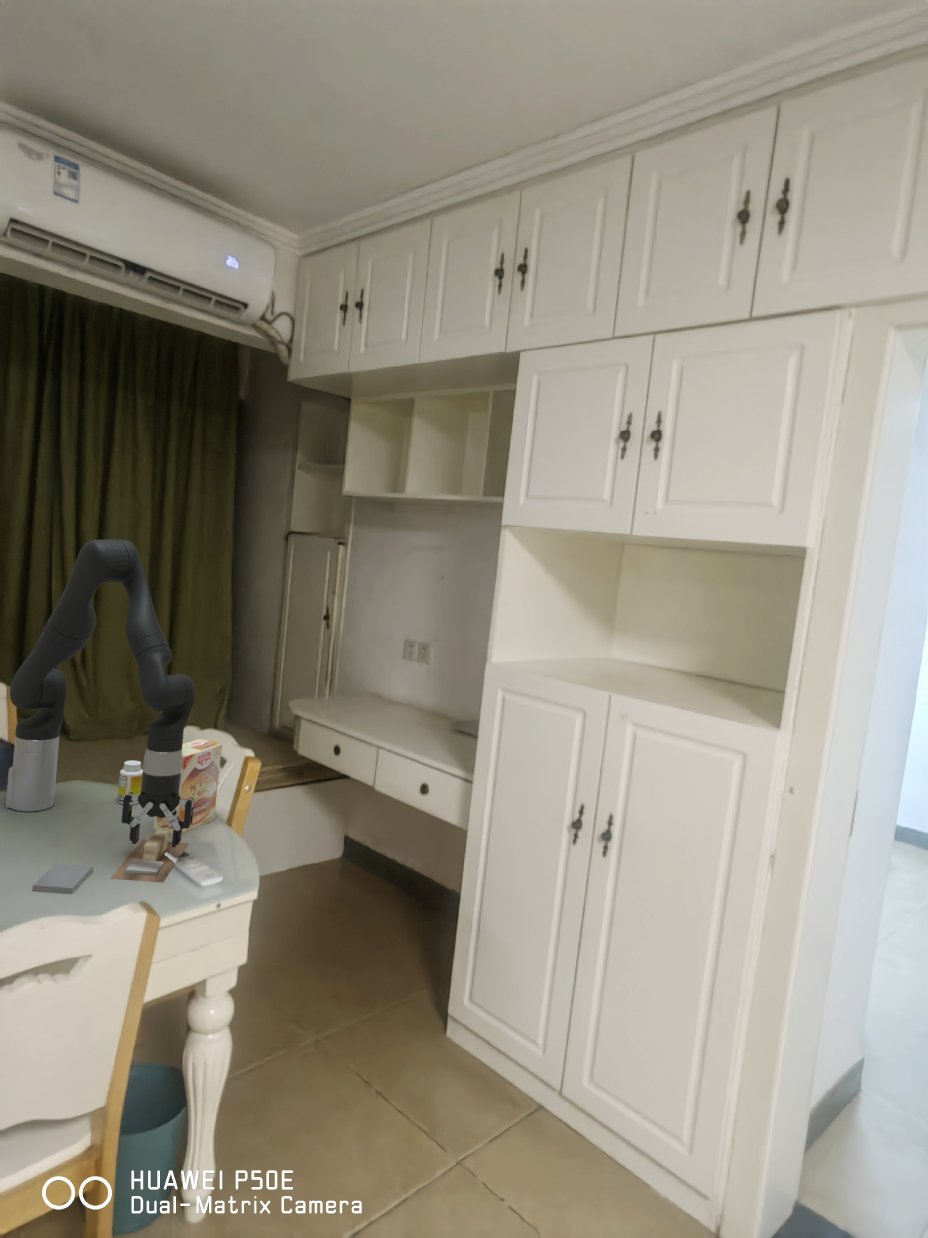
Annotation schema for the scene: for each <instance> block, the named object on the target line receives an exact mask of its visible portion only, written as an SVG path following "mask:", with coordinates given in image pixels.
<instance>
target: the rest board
mask: <svg viewBox="0 0 928 1238" xmlns="http://www.w3.org/2000/svg"><path fill="white" fill-rule="evenodd" d="M148 840H149V839H142V840H141V841H140V843H139V844H138V845H137V846H136V847H135V848H134V849H133V851H132V852H131V853H130V854H129V856H128V857H127V858H126V859H125V860H124V862H123V863H122V864H121V865H120V867H118V868H117V870H116V872H114V873H113V875H112V876H111V877H110V879H111V880H124V881H136V882H137V881H138V882H140V881H141V882H152V883H164V881H165V880H166V879H167V877H168V876H169V874H170V873H171V871H172V870H173V869H174V867H175V865H176V864H175V863H174V862H173V861H172V860H170V859H169V858H168V857H167V856H165V854H164V853H166V852H168V853H173V855H175V856H176V857H178V855H179V856H180V855H181V856H182V855H183V853H184V852H185V850H186V849H187V847H188V846H189V844H190V843H189V842H180V843H179V844H178V845H177V846H176V847H172V841H168V843H167V849H166V850H165V851H164V853H163V854H162V855H161V857H160V858H159V859H158V861H161V862H164V866H163V867H162V868H161V870H160V871H159V873H158V874H157V875H156V876H153V875H139V874H125V872H126V869H127V867H128V866H129V865H130V864H131V862H132V861H133V860H143V854H144V845H145V844H146V843H147V841H148ZM181 856H180V857H181Z"/></svg>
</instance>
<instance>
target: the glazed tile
mask: <svg viewBox="0 0 928 1238" xmlns="http://www.w3.org/2000/svg"><path fill="white" fill-rule="evenodd" d="M93 871H94V866H93V865H87V864H77V863H76V864H75V863H74V864H73V863H61V862H60V863H59V862H55V864H54V865H52V866H51V867H50V868H49V869H48V870H47V871H46V872H45V873H44V874H42V876H41V877H40V878H39V879H38V880H37V881H36V882H34V883H33V884H32V892H43V893H54V894H55V893H56V894H69V895H72V894H73V893H74V892H75V891H76V890H77V889H79V888H78V887H80V886H81V885H82V883H83V882H84V881H85V880H86V879H87V878H88V877H89V876H90V875H91V874H92V872H93Z"/></svg>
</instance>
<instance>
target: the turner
mask: <svg viewBox="0 0 928 1238" xmlns="http://www.w3.org/2000/svg"><path fill="white" fill-rule="evenodd" d="M168 833H169V830H161V829H157V830H155V832H154V833H153V834H152V835H151V836H150V838H149V839H147V840H148V841H147V843H146V844H145V845H144V854H143V860H133V861H132V862H131V864H130V865H129V866H128V867H127V869H126V872H125V874H139V875H153V876H156V875H157V874H158V873H159V871H160V870H161V868H162V867H163V866H164V862H161V861H158V859H159V858H160V857H161V855H162V854H163V853H164V851H165V850H166V849H167V843H168V842H169V834H168Z"/></svg>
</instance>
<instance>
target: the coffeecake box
mask: <svg viewBox="0 0 928 1238" xmlns="http://www.w3.org/2000/svg"><path fill="white" fill-rule="evenodd" d="M222 748H223V743H220V742H217V741H211V740H206V739H202V738H198V739H195V740H192V741H189V742H185V743H183V745H182V769H181V778H180V788H179V796H180V798H183V799H189V798H191V797H192V798H194V809H193V820H192V824H191V825H190V827H189V828H187V829H186V828H184V829H182V834H183V833H186V832H188V831H189V830H191V829H193V828H195V827H198V826H199V825H206V824H208V823H210V822H212V821H214V820H215V814H216V804H217V796H218V795H217V794H218V785H219V775H220V768H221V767H220V765H221V759H222V750H223V749H222ZM176 810H177V811H178V813H179V816H180V818H181V820H182V821H184V815H185V810H184V809H183V808H182V805H181V804H179V805H178V806H177V807H176ZM213 819H214V820H213ZM152 825H153V826H152V830H153V831H156V830H157V829H161V830H169V833H168V835H172V836H173V830H174V827H173V825H172V824H171V823H170V822H169V821H168V819H167V817H164V818H160V817H157V816H155V817H153V824H152Z"/></svg>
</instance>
